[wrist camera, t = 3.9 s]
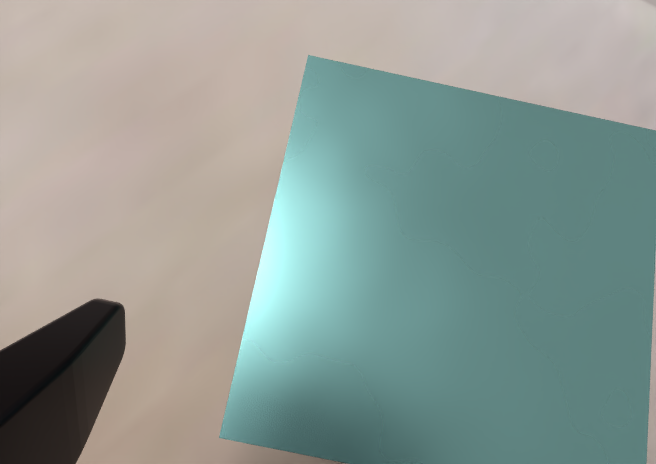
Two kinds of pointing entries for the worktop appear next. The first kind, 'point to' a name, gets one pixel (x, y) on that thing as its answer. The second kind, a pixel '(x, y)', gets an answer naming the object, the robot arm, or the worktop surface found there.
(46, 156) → the worktop surface
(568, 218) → the teal block grey base
